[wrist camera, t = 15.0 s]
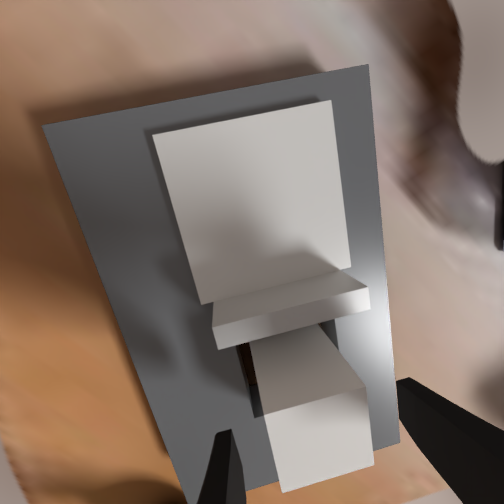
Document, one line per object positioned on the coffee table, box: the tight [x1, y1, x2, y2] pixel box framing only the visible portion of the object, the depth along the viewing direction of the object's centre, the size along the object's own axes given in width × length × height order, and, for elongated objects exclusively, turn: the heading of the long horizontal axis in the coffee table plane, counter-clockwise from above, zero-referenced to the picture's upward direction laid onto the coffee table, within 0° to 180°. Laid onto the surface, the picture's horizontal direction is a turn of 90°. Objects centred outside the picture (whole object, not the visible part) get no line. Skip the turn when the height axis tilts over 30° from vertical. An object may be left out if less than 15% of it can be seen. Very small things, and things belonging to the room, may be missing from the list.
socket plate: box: [41, 64, 400, 504], centre depth 14 cm, size 14×22×2 cm, turn 12°
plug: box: [249, 323, 374, 493], centre depth 13 cm, size 4×4×7 cm
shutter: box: [152, 100, 371, 350], centre depth 10 cm, size 8×9×3 cm
